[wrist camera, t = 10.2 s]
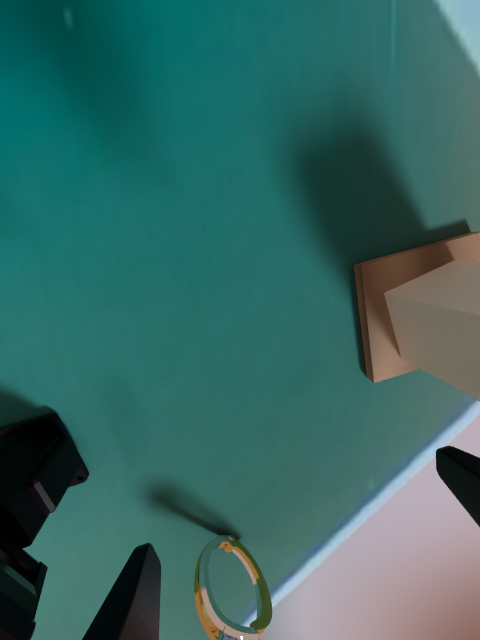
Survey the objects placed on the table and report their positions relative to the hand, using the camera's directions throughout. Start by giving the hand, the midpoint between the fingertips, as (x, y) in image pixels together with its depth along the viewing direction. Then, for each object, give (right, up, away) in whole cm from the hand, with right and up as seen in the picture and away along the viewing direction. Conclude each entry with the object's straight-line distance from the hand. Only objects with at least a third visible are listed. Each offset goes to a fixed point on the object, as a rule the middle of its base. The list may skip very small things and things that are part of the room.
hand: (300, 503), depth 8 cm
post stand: (+13, +6, +14) cm, 20 cm away
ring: (-3, -16, +18) cm, 24 cm away
